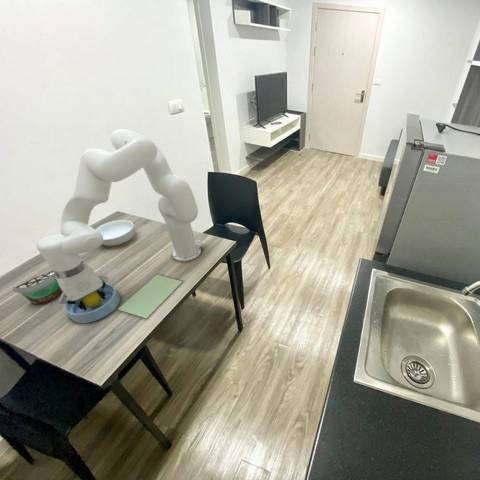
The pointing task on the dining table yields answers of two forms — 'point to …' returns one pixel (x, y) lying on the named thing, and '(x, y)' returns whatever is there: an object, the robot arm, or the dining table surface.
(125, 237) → the cereal bowl
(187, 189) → the robot arm
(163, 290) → the napkin
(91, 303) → the lemon
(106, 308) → the bowl
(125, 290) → the dining table surface
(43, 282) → the food container
